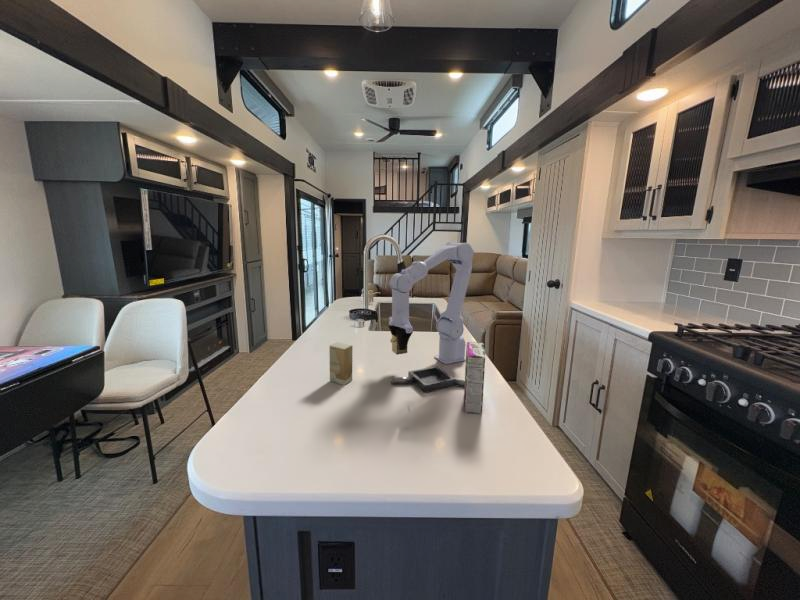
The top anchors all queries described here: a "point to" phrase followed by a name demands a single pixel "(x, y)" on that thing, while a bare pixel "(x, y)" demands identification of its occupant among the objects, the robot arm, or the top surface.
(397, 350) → the brass block with pegs
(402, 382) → the steel shaft
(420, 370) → the grey square tray
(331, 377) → the skincare box
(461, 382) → the steel shaft
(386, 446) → the top surface
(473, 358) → the candy bar box
